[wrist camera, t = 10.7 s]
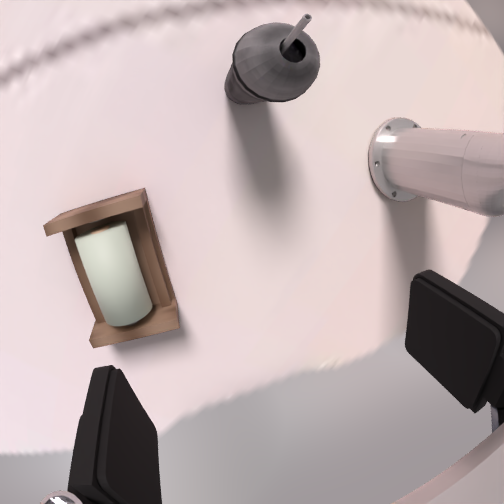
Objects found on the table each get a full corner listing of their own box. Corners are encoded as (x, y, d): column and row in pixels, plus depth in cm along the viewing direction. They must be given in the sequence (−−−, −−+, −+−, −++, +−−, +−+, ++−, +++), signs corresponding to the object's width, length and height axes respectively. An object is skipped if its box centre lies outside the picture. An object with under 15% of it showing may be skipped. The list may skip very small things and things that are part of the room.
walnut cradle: (144, 188, 34) (140, 195, 28) (177, 303, 39) (179, 328, 34) (60, 213, 32) (43, 225, 26) (100, 322, 37) (93, 348, 32)
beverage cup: (244, 128, 34) (326, 109, 16) (199, 87, 32) (236, 20, 13) (284, 88, 34) (389, 47, 16) (242, 47, 31) (315, -32, 13)
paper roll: (82, 229, 32) (67, 244, 27) (129, 215, 33) (121, 228, 28) (110, 306, 36) (102, 331, 30) (153, 295, 37) (151, 320, 32)
